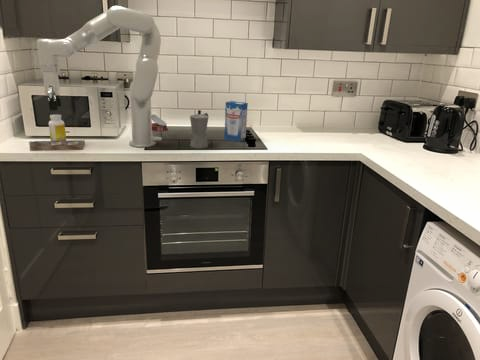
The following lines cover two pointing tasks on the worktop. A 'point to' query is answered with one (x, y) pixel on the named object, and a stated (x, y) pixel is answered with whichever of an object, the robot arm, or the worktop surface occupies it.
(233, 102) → the milk carton
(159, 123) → the canned food
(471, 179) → the worktop surface
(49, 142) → the shelf
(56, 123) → the supplement bottle
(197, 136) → the coffeepot
